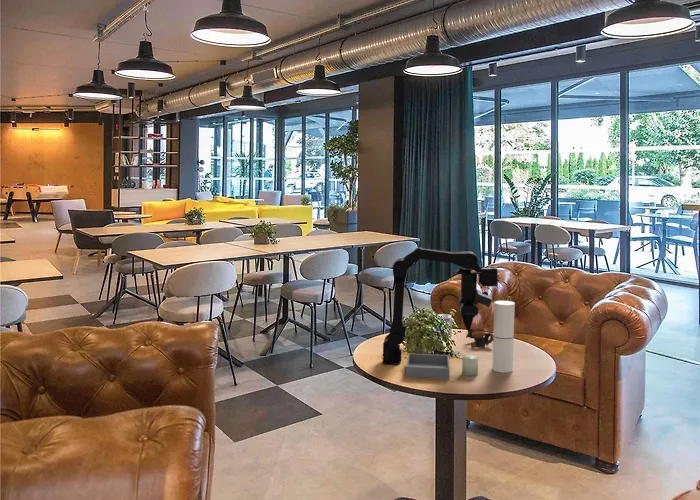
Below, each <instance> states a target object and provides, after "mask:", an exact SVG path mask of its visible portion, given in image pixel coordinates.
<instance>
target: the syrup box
mask: <svg viewBox="0 0 700 500" xmlns="http://www.w3.org/2000/svg"><path fill="white" fill-rule="evenodd" d="M438 315H439V316H440V317H441V316H442V317H441V318H443V319H444V320H445V321H447V322H448V323H449V324H450V326H451V328H450V339H451V340H452V314H445V313H439V314H437V316H438Z"/></svg>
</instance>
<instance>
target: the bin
mask: <svg viewBox="0 0 700 500" xmlns="http://www.w3.org/2000/svg"><path fill="white" fill-rule="evenodd" d="M407 354H408V355H407V361H406V365H405V366H406V367H405V370H406V371H405V374H406V375H405V378H409V379H426V380H427V379H428V380H444V381H445V380H446V381H448V380H450V359H449V357H450V356H449V355H448V354H429V353H428V354H427V353H407Z"/></svg>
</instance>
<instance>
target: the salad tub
mask: <svg viewBox="0 0 700 500" xmlns="http://www.w3.org/2000/svg"><path fill="white" fill-rule="evenodd" d="M461 365H462V366H461V367H462V369H461V370H462V371H461V372H462V373H461V374H462V375H464V376H467V377H476V376H478V374H479V357H478V356H476V355H474V354H473V355H471V354H466V355H463V356H462V364H461Z"/></svg>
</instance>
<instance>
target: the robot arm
mask: <svg viewBox="0 0 700 500" xmlns="http://www.w3.org/2000/svg"><path fill="white" fill-rule="evenodd" d="M419 260H428V261H432V262H433V261H435V262H441V263H447V264H453V265H456V266H458V267H459V268H458V269H457V270H455V273H456V275H460V296H459V298H458V305H459V309H460V310H459V311H460V315H461V318H462V321H463V323H464V327H465V329H466V331H470V330H471V329H472V323H473V320H474V319H475V317H476V316H478V314H479V306H478V304H481V305H483V306H485V307H487V308H489V307H490V306H491V304H492V301H493V297H492V296H490V295H489V292H488V291H486V290H483V291H482V292H480V291H478V288H477V283H478V284H480V286H481V287H492V288H493V287H495V288H497V287H498V285H499V278H498V268H496V267H490V268H489V267H488V268H487V267H485V268H484V267H482V265H481V264H480V263H479V259H478V257H477V255H476V253H475V252H473V251H466V250H465V251H464V250H463V251H445V250H439V249H429V248H422V247H421V246H419V247H416V248H414V250H413V251H411V252H410V253H408V254H407V255H405V256H404V257H399V258H397V259H395V261H394V262H393V264H392V275H393V282H394V295H393V309H392V311H393V312H392V322H391V325H390V329H389V333H388V334H387V335H386V336H385V338H384V340H383V342H382V364H383V365H384V364H385V365H387V364H388V365H400V362H401V361H402V349H401V344H402V343H403V342H404V340H405V338H407V326H408V322H404V305H405V303H404V302H405V300H404V299H405V285H406V281H407V280H406V279H407V276H408V272H409V268H411V267H412V266H413V265H415V264H416V263H417V262H418V261H419Z"/></svg>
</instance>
